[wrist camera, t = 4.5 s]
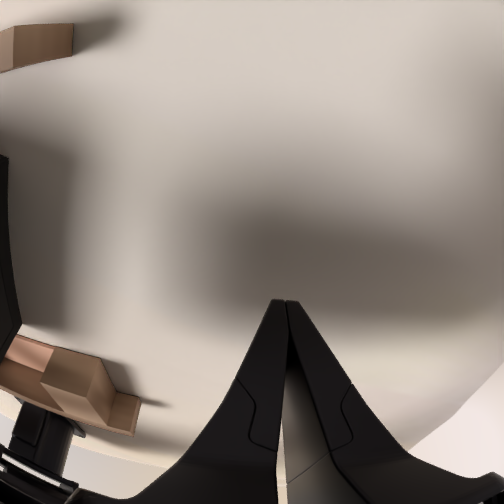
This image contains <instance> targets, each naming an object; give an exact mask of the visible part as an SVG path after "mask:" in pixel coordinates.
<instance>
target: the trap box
mask: <svg viewBox="0 0 504 504" xmlns="http://www.w3.org/2000/svg"><path fill="white" fill-rule="evenodd" d="M73 25H74V24H35V25H21V26H13V27H11V28H8V29H6V30H3V31H1V32H0V73H3V72H7V71H10V70H14V69H17V68H21V67H25V66H28V65H32V64H37V63H41V62H45V61H50V60H55V59H60V58H65V57H70V56H72V39H73ZM0 389H2V390H4V391H6V392H8V393H10V394H12V395H14V396H16V397H18V398H20V399H23V400H25V401H27V402H29V403H32V404H34V405H36V406H39V407H41V408H44V409H46V410H49V411H51V412H54V413H57V414H59V415H62V416H65V417H68V418H70V419H73V420H76V421H79V422H82V423H85V424H88V425H92V426H95V427H98V428H102V429H105V430H109V431H112V432H116V433H120V434H124V435H128V436H132V437H134V432H135V428H136V424H137V419H138V415H139V411H140V407H141V402H140V399H139V397H135V396H131V395H126V394H122V393H118V392H116V390H115V388H114V386H113V384H112V382H111V380H110V378H109V376H108V374H107V372H106V370H105V368H104V366H103V364H102V361H101V359H100V358H96V357H92V356H88V355H84V354H81V353H77V352H73V351H70V350H66V349H63V348H59V347H53V346H50V345H47V344H43V343H40V342H37V341H34V340H31V339H28V338H25V337H22V336H20V335H17V334H16V336H15V338H14V340H13V341H12V343H11V345H10V347H9V349H8V351H7V353H6V355H5V357H4V359H3V361H2V363H1V365H0Z"/></svg>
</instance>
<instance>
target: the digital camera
mask: <svg viewBox="0 0 504 504" xmlns="http://www.w3.org/2000/svg"><path fill="white" fill-rule="evenodd" d="M0 157H1V158H0V365H1V363H2V361H3V359H4V357H5V355H6V353H7V351H8V349H9V347H10V345H11V343H12V341H13V340H14V338H15V336H16V334H17V332H18V331H19V329H20V327H21V325H22V321H21V316H20V312H19V307H18V301H17V296H16V290H15V284H14V277H13V270H12V262H11V252H10V242H9V227H8V194H7V192H8V159H9V158H7V157H5V156H2V155H0Z"/></svg>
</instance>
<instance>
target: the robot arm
mask: <svg viewBox="0 0 504 504" xmlns="http://www.w3.org/2000/svg"><path fill="white" fill-rule="evenodd" d="M351 383H352V382H351V380H350V379H349V377H348V376H347V374H346V372H345V371H344V369H343V368H342V366H341V365H340V363H339V362H338V360H337V359H336V357H335V356H334V354H333V353H332V351H331V350H330V348H329V347H328V345H327V344H326V342H325V340H324V339H323V337H322V336H321V334H320V333H319V331H318V330H317V328H316V327H315V325H314V324H313V322H312V321H311V319H310V318H309V316H308V315H307V313H306V312H305V310H304V309H303V307H302V306H301V304H300V303H299V302H298V301H292V300H286V301H284V300H282V299H272V300H271V302H270V304H269V306H268V308H267V311H266V313H265V315H264V317H263V319H262V321H261V324H260V326H259V328H258V330H257V332H256V334H255V336H254V339H253V341H252V343H251V345H250V347H249V349H248V351H247V353H246V356H245V358H244V360H243V362H242V364H241V366H240V368H239V370H238V372H237V374H236V376H235V379H234V380H233V382H232V384H231V386H230V388H229V390H228V392H227V394H226V396H225V398H224V400H223V401H222V403H221V405H220V406H219V408H218V409H217V411H216V412H215V414H214V415H213V417H212V418H211V419H210V421H209V422H208V423H207V425H206V426H205V428H204V429H203V430H202V432H201V433H200V434H199V436H198V437H197V438H196V440H195V441H194V442H193V444H192V445H191V446H190V448H189V449H188V450H187V451H186V452H185V454H184V455H183V456H182V457H181V458H180V459H179V460H178V461H177V462H176V463H175V464H174V465H173V466H172V467H170V468H169V469H168V470H167V471H166V472H165V473H163V474H162V475H161V476H160V477H159V478H157V479H156V480H155V481H154V482H153V483H151V484H150V485H149V486H148V487H146V488H145V489H144V490H143V491H141V492H140V493H139V494H137V495H136V496H134V497H131V498H128V499H115V498H111V497H108V496H105V495H101V494H98V493H95V492H92V491H89V490H86V489H82V488H78V486H79V484H78V483H76V482H74V481H70V480H67V479H65V478H62V474H63V470H64V466H65V462H66V459H67V455H68V451H69V448H70V444H71V441H72V437H73V434H74V435H76V436H79V437H82V438H85V437H86V434H85V433H84V432H83V431H82V430H81V429H80V428H79V427H78V426H77V425H76V424H75V423H74V422H73V420H72V419H70V418H68V417H65V416H62V415H59V414H57V413H54V412H51V411H49V410H46V409H44V408H41V407H39V406H36V405H34V404H32V403H29V402H27V401H25V400H23V399H20V398H18V397H16V396H14V397H15V398H16V399H17V400H18V401H19V402H20V403H21V404H22V407H21V409H20V412H19V415H18V417H17V420H16V423H15V425H14V428H13V431H12V438H11V441H10V444H9V447H8V449H7V448H5V446H4V445H2V444H0V466H2V467H3V468H4V469H3V471H0V504H278V491H277V477H276V464H277V452H278V446H279V437H280V428H281V418H282V428H283V441H284V455H285V469H286V483H287V499H288V504H504V478H503V477H501V476H500V475H498V474H496V473H495V472H490V473H488V474H485V475H483V476H481V477H478V478H466V477H462V476H459V475H456V474H454V473H451V472H449V471H446V470H444V469H441V468H439V467H436V466H434V465H431V464H429V463H426V462H424V461H422V460H420V459H418V458H416V457H414V456H412V455H411V454H409V453H408V452H407V451H406V450H405V449H403V448H402V446H401V445H400V444H399V443H398V442H397V441H396V440H395V438H394V437H393V436H392V435H391V434H390V432H389V431H388V430H387V429H386V428H385V426H384V425H383V424H382V423H381V422H380V420H379V419H378V418H377V417H376V415H375V414H374V413H373V412H372V410H371V409H370V408H369V407H368V405H367V404H366V402H365V401H364V399H363V398H362V397H361V395H360V394H359V392H358V391H357V389H356V388H355V386H354V385H353V384H351ZM2 454H5V455H6V456H8V457H10V458H12V459H13V460H15V461H17V462H19V463H20V464H22V465H24V466H26V467H28V468H30V469H31V470H34V471H35V472H38V473H39V474H41V475H44V476H45V477H48V478H50V479H52V480H54V481H56V482H59V483H61V484H60V486H59V487H58V486H56V485H54V484H51V483H49V482H47V481H45V480H43V479H41V478H39V477H37V476H35V475H33V474H30V473H29V472H27V471H25V470H23V469H21V468H19V467H17V466H15V465H14V464H12V463H10V462H8V461H7V460H5V459H4V458H2Z"/></svg>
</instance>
